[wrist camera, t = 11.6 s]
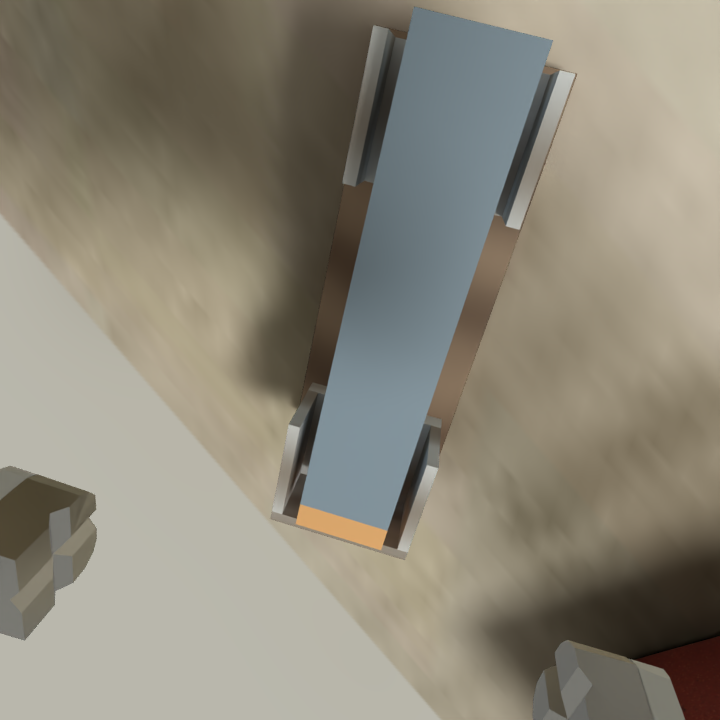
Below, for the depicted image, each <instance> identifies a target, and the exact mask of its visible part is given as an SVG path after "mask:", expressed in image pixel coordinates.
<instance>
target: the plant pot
mask: <svg viewBox="0 0 720 720" xmlns="http://www.w3.org/2000/svg"><path fill="white" fill-rule="evenodd" d="M635 661H639V662H642V663H645V664H648V665H652V666H655V667H658V668H661V669H664V671H665V672H666V673H667V674H668V676H669V677H670V679H671V682H672V685H673V688H674V690H675V693H676V696H677V699H678V701H679V704H680V707H681V709H682V712H683V715H684V718H685V720H720V636H718V637H714V638H711V639H707V640H704V641H700V642H697V643H693V644H689V645H686V646H682V647H678V648H675V649H671V650H668V651H664V652H661V653H657V654H653V655H650V656H646V657H643V658H639V659H635Z"/></svg>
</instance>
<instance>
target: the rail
mask: <svg viewBox="0 0 720 720" xmlns="http://www.w3.org/2000/svg"><path fill="white" fill-rule="evenodd" d="M552 42H553V40H549V39H545V38H541V37H537V36H533V35H528V34H524V33H520V32H516V31H512V30H508V29H504V28H500V27H496V26H491V25H487V24H483V23H479V22H475V21H471V20H467V19H463V18H459V17H454V16H450V15H446V14H442V13H438V12H434V11H430V10H426V9H422V8H417V7H414V9H413V13H412V18H411V22H410V26H409V31H408V35H407V39H406V44H405V48H404V53H403V57H402V61H401V66H400V70H399V74H398V79H397V83H396V88H395V92H394V96H393V101H392V105H391V109H390V114H389V118H388V122H387V127H386V131H385V136H384V140H383V144H382V149H381V153H380V157H379V162H378V166H377V171H376V175H375V179H374V184H373V188H372V192H371V197H370V201H369V205H368V210H367V214H366V219H365V223H364V227H363V232H362V236H361V240H360V245H359V249H358V254H357V258H356V262H355V267H354V271H353V275H352V280H351V284H350V289H349V293H348V297H347V302H346V306H345V310H344V315H343V319H342V323H341V328H340V332H339V337H338V341H337V345H336V350H335V354H334V358H333V363H332V367H331V372H330V376H329V380H328V385H327V389H326V393H325V398H324V402H323V407H322V411H321V415H320V420H319V424H318V428H317V433H316V437H315V441H314V446H313V450H312V455H311V459H310V463H309V468H308V472H307V476H306V481H305V485H304V490H303V494H302V498H301V503H300V507H299V511H298V516H297V520H296V524H297V525H300V526H304V527H307V528H310V529H313V530H317V531H320V532H323V533H326V534H330V535H333V536H336V537H339V538H343V539H346V540H349V541H352V542H355V543H359V544H362V545H365V546H368V547H372V548H375V549H378V550H381V549H382V546H383V543H384V540H385V537H386V534H387V531H388V528H389V525H390V522H391V519H392V516H393V513H394V510H395V507H396V504H397V501H398V498H399V495H400V492H401V489H402V487H403V484H404V481H405V478H406V475H407V472H408V469H409V466H410V463H411V460H412V457H413V454H414V451H415V448H416V445H417V442H418V439H419V436H420V433H421V430H422V427H423V424H424V421H425V418H426V415H427V412H428V409H429V406H430V404H431V401H432V398H433V395H434V392H435V389H436V386H437V383H438V380H439V377H440V374H441V371H442V368H443V365H444V362H445V359H446V356H447V353H448V350H449V347H450V344H451V341H452V338H453V335H454V332H455V329H456V326H457V324H458V321H459V318H460V315H461V312H462V309H463V306H464V303H465V300H466V297H467V294H468V291H469V288H470V285H471V282H472V279H473V276H474V273H475V270H476V267H477V264H478V261H479V258H480V255H481V252H482V249H483V246H484V243H485V241H486V238H487V235H488V232H489V229H490V226H491V223H492V220H493V217H494V214H495V211H496V208H497V205H498V202H499V199H500V196H501V193H502V190H503V187H504V184H505V181H506V178H507V175H508V172H509V169H510V166H511V163H512V161H513V158H514V155H515V152H516V149H517V146H518V143H519V140H520V137H521V134H522V131H523V128H524V125H525V122H526V119H527V116H528V113H529V110H530V107H531V104H532V101H533V98H534V95H535V92H536V89H537V86H538V83H539V80H540V78H541V75H542V72H543V69H544V66H545V63H546V60H547V57H548V54H549V51H550V48H551V45H552Z"/></svg>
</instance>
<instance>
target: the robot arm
mask: <svg viewBox="0 0 720 720" xmlns="http://www.w3.org/2000/svg"><path fill="white" fill-rule="evenodd" d="M95 510H96V500H95V495H94V494H92V493H90V492H87V491H85V490H81V489H79V488H76V487H72V486H70V485H67V484H64V483H61V482H58V481H55V480H52V479H49V478H46V477H44V476H41V475H37V474H34V473H31V472H28V471H24V470H22V469H19V468H16V467H12V466H8V467H5V468H2V469H0V633H2V634H5V635H8V636H11V637H15V638H18V639H21V640H26V638H27V637H28V636H29V635H30V634H31V632H32V631H33V630H34V629H35V628H36V627H37V625H38V624H39V623H40V622H41V621H42V619H43V618H44V617H45V616H46V615H47V613H48V612H49V611H50V610H51V609H52V607H53V606H54V605H55V591H56V590H58V589H61V588H63V587H65V586H67V585H69V584H71V583H73V582H74V581H75V580H76V578H77V577H78V576H79V575H80V573H81V572H82V571H83V570H84V568H85V567H86V565H87V563H88V561H89V559H90V557H91V555H92V553H93V551H94V547H95V543H96V539H97V538H96V537H97V534H96V533H97V532H96V531H97V529H96V527H95V525H94V524H93V523H92V521H91V520H90V518H89V517H90V515H91V514H92V513H93V512H94V511H95ZM555 659H556V665H555V666H552V667H550V668H547V669H545V670H544V671H543V673H542V675H541V676H540V678H539V680H538V682H537V685H536V689H535V694H534V699H533V720H685V718H684V715H683V712H682V709H681V707H680V704H679V701H678V699H677V696H676V693H675V690H674V688H673V685H672V682H671V679H670V677H669V676H668V674H667V673H666V672H665V671H664V669H661V668H658V667H655V666H652V665H648V664H645V663H642V662H639V661H635V660H632V659H628V658H626V657H624V656H620V655H617V654H614V653H610V652H607V651H604V650H600V649H597V648H593V647H590V646H587V645H583V644H580V643H577V642H573V641H570V640H566V641H564V642H562V643H561V644H560V645H559V647H558V648H557V650H556V652H555Z"/></svg>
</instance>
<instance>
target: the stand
mask: <svg viewBox="0 0 720 720" xmlns="http://www.w3.org/2000/svg"><path fill="white" fill-rule="evenodd" d="M407 35H408V33H407V32H402V31H398V30H394V29H390V28H386V27H382V26H378V25H376V26H375V25H373V30H372V35H371V40H370V45H369V50H368V55H367V60H366V65H365V70H364V75H363V80H362V85H361V90H360V95H359V101H358V106H357V111H356V116H355V121H354V126H353V131H352V136H351V141H350V146H349V151H348V156H347V161H346V166H345V171H344V176H343V181H342V183H343V184H344V188H343V193H342V198H341V202H340V207H339V212H338V217H337V222H336V227H335V232H334V237H333V242H332V247H331V252H330V257H329V262H328V267H327V272H326V277H325V282H324V287H323V292H322V297H321V302H320V307H319V312H318V317H317V322H316V327H315V332H314V337H313V342H312V347H311V352H310V356H309V361H308V366H307V371H306V376H305V381H304V386H303V391H302V396H301V401H300V406H299V407H298V409H297V411H296V413H295V414H294V416H293V418H292V420H291V421H290V423H289V426H288V431H287V436H286V442H285V447H284V452H283V457H282V462H281V467H280V472H279V478H278V483H277V488H276V493H275V498H274V503H273V509H272V514H271V519H272V520H275V521H278V522H282V523H285V524H288V525H291V526H295V527H298V528H301V529H305V530H308V531H311V532H314V533H318V534H321V535H324V536H327V537H331V538H334V539H337V540H341V541H344V542H347V543H350V544H354V545H357V546H360V547H363V548H367V549H370V550H373V551H377V552H380V553H383V554H386V555H390V556H393V557H396V558H399V559H403V560H405V559H406V556H407V553H408V550H409V548H410V545H411V542H412V539H413V537H414V534H415V531H416V528H417V526H418V523H419V520H420V517H421V515H422V512H423V509H424V506H425V504H426V501H427V498H428V496H429V493H430V490H431V487H432V485H433V482H434V479H435V476H436V474H437V471H438V467H439V456H440V453H441V450H442V447H443V444H444V442H445V439H446V436H447V433H448V431H449V428H450V425H451V422H452V420H453V417H454V414H455V411H456V408H457V406H458V403H459V400H460V397H461V395H462V392H463V389H464V386H465V384H466V381H467V378H468V375H469V372H470V370H471V367H472V364H473V361H474V359H475V356H476V353H477V350H478V348H479V345H480V342H481V339H482V336H483V334H484V331H485V328H486V325H487V323H488V320H489V317H490V314H491V312H492V309H493V306H494V303H495V300H496V298H497V295H498V292H499V289H500V287H501V284H502V281H503V278H504V276H505V273H506V270H507V267H508V264H509V262H510V259H511V256H512V253H513V251H514V248H515V245H516V242H517V240H518V237H519V234H520V231H521V228H522V226H523V223H524V220H525V217H526V215H527V212H528V209H529V206H530V204H531V201H532V198H533V195H534V192H535V190H536V187H537V184H538V181H539V179H540V176H541V173H542V170H543V168H544V165H545V162H546V159H547V156H548V154H549V151H550V148H551V145H552V143H553V140H554V137H555V134H556V132H557V129H558V126H559V123H560V120H561V118H562V115H563V112H564V109H565V107H566V104H567V101H568V98H569V96H570V93H571V90H572V87H573V84H574V82H575V79H576V76H577V74H576V73H572V72H567V71H563V70H559V69H555V68H551V67H547V66H544V69H543V72H542V75H541V78H540V80H539V83H538V86H537V89H536V92H535V95H534V98H533V101H532V104H531V107H530V110H529V113H528V116H527V119H526V122H525V125H524V128H523V131H522V134H521V137H520V140H519V143H518V146H517V149H516V152H515V155H514V158H513V161H512V163H511V166H510V169H509V172H508V175H507V178H506V181H505V184H504V187H503V190H502V193H501V196H500V199H499V202H498V205H497V208H496V211H495V214H494V217H493V220H492V223H491V226H490V229H489V232H488V235H487V238H486V241H485V243H484V246H483V249H482V252H481V255H480V258H479V261H478V264H477V267H476V270H475V273H474V276H473V279H472V282H471V285H470V288H469V291H468V294H467V297H466V300H465V303H464V306H463V309H462V312H461V315H460V318H459V321H458V324H457V326H456V329H455V332H454V335H453V338H452V341H451V344H450V347H449V350H448V353H447V356H446V359H445V362H444V365H443V368H442V371H441V374H440V377H439V380H438V383H437V386H436V389H435V392H434V395H433V398H432V401H431V404H430V406H429V409H428V412H427V415H426V418H425V421H424V424H423V427H422V430H421V433H420V436H419V439H418V442H417V445H416V448H415V451H414V454H413V457H412V460H411V463H410V466H409V469H408V472H407V475H406V478H405V481H404V484H403V487H402V489H401V492H400V495H399V498H398V501H397V504H396V507H395V510H394V513H393V516H392V519H391V522H390V525H389V528H388V531H387V534H386V537H385V540H384V543H383V546H382V549H381V550H378V549H375V548H372V547H368V546H365V545H362V544H359V543H355V542H352V541H349V540H346V539H343V538H339V537H336V536H333V535H330V534H326V533H323V532H320V531H317V530H313V529H310V528H307V527H304V526H300V525H297V524H296V520H297V516H298V511H299V507H300V503H301V498H302V494H303V490H304V485H305V481H306V476H307V472H308V468H309V463H310V459H311V455H312V450H313V446H314V441H315V437H316V433H317V428H318V424H319V420H320V415H321V411H322V407H323V402H324V398H325V393H326V389H327V385H328V380H329V376H330V372H331V367H332V363H333V358H334V354H335V350H336V345H337V341H338V337H339V332H340V328H341V323H342V319H343V315H344V310H345V306H346V302H347V297H348V293H349V289H350V284H351V280H352V275H353V271H354V267H355V262H356V258H357V254H358V249H359V245H360V240H361V236H362V232H363V227H364V223H365V219H366V214H367V210H368V205H369V201H370V197H371V192H372V188H373V184H374V179H375V175H376V171H377V166H378V162H379V157H380V153H381V149H382V144H383V140H384V136H385V131H386V127H387V122H388V118H389V114H390V109H391V105H392V101H393V96H394V92H395V88H396V83H397V79H398V74H399V70H400V66H401V61H402V57H403V53H404V48H405V44H406V39H407Z"/></svg>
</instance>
